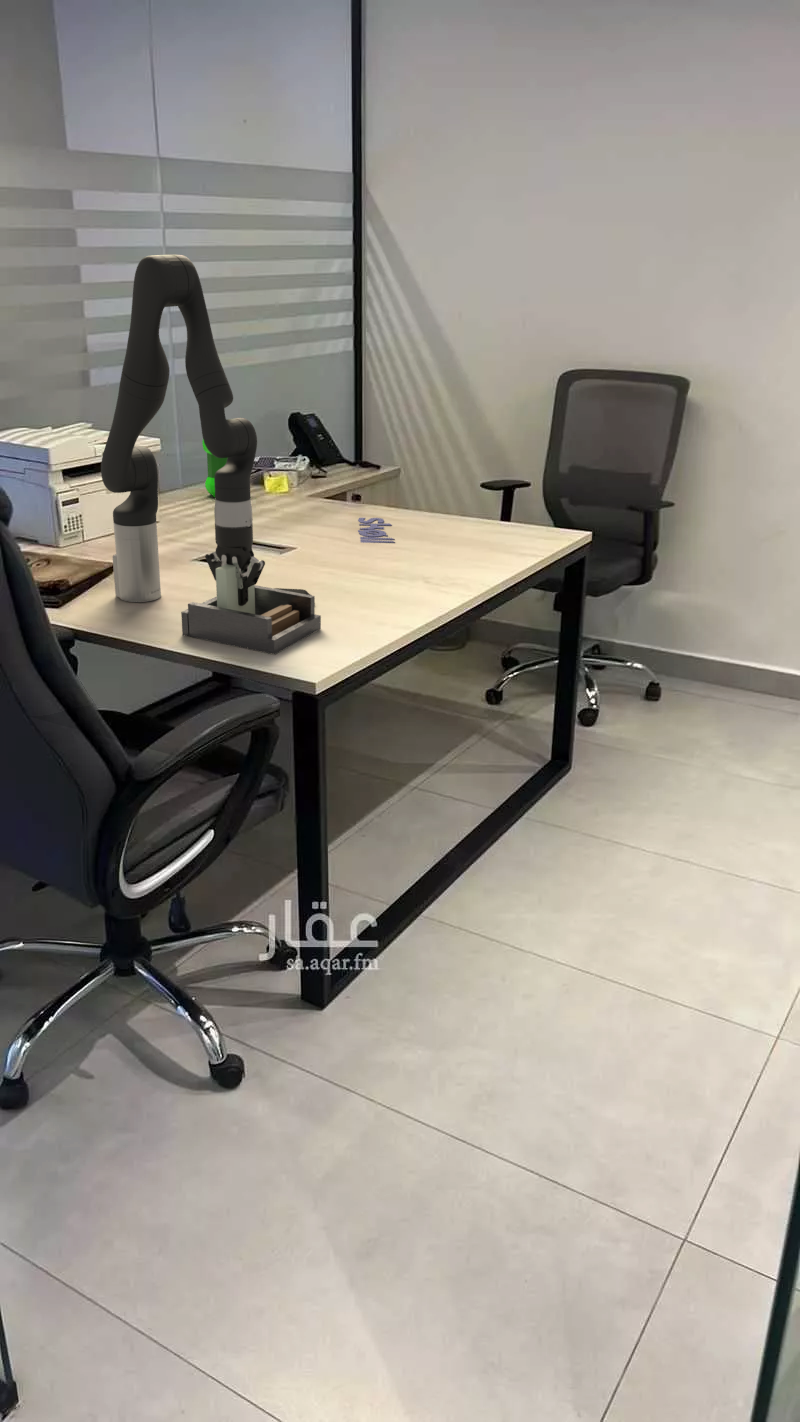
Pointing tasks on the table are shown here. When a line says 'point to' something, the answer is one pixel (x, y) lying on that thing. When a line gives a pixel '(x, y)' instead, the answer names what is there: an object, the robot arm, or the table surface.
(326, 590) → the table surface
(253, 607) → the pale green flat block
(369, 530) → the signage
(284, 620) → the offcut stack
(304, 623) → the tray
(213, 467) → the plastic bottle
